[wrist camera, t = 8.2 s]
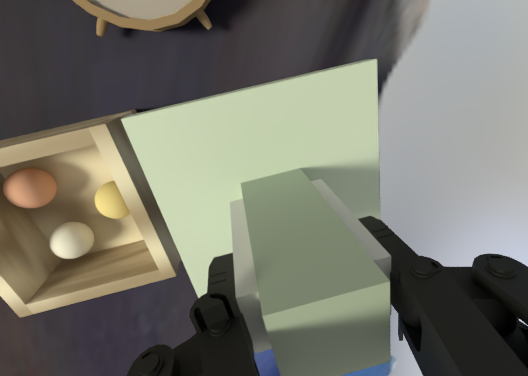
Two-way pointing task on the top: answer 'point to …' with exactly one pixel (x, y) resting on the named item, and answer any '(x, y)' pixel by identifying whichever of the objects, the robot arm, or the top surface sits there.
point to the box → (80, 219)
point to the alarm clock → (145, 13)
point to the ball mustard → (111, 201)
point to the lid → (281, 206)
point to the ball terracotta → (29, 188)
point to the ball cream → (71, 240)
